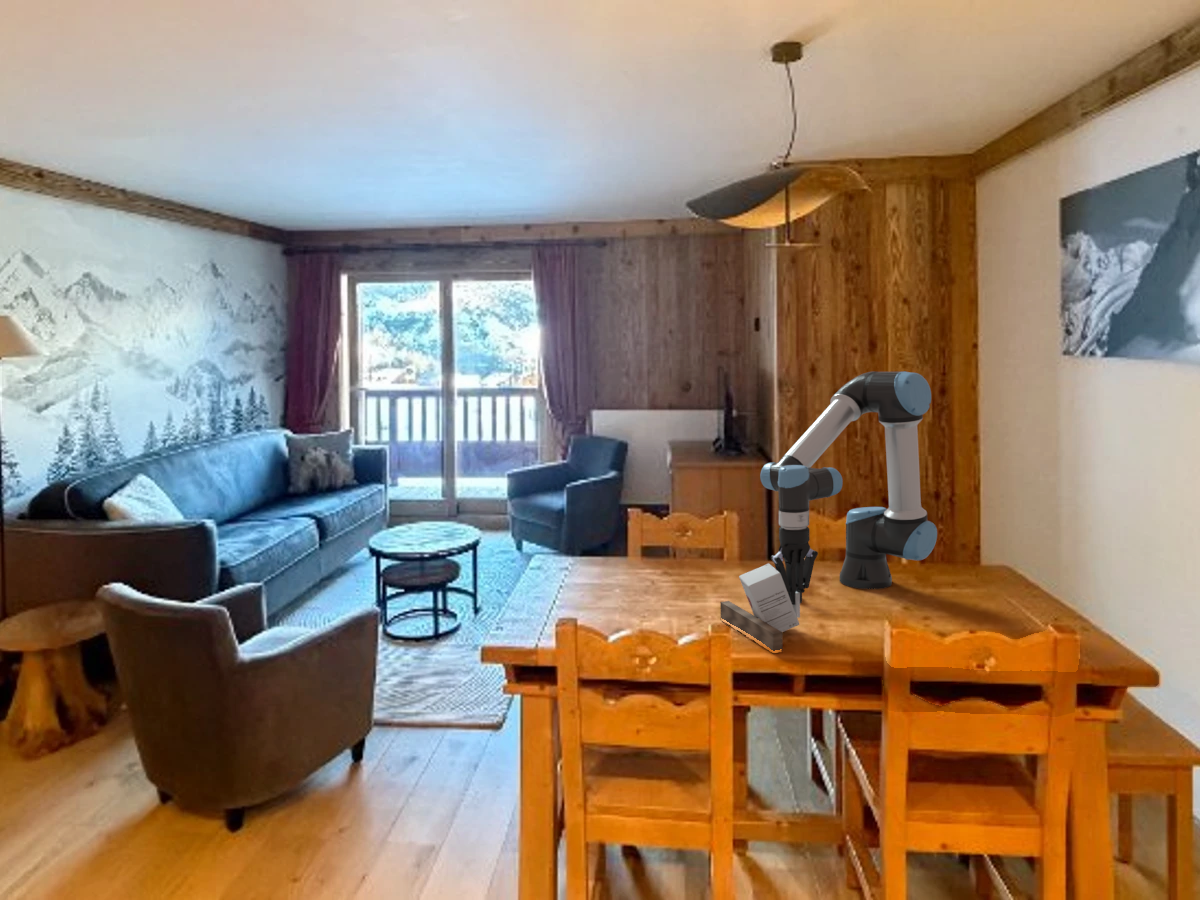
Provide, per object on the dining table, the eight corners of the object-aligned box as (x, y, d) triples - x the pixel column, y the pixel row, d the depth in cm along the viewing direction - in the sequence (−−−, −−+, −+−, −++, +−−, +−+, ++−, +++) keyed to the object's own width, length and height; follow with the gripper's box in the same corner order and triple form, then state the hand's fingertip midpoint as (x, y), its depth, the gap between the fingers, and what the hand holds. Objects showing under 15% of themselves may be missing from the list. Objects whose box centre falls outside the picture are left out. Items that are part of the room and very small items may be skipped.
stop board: (720, 620, 214) (720, 602, 213) (728, 618, 215) (728, 600, 214) (773, 654, 190) (773, 633, 189) (782, 652, 191) (782, 632, 190)
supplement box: (757, 626, 209) (737, 575, 206) (788, 613, 209) (769, 562, 207) (768, 639, 200) (747, 586, 198) (800, 625, 200) (780, 571, 198)
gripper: (781, 532, 197) (782, 624, 200) (823, 526, 201) (824, 616, 205) (764, 526, 204) (766, 615, 207) (806, 520, 208) (807, 608, 212)
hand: (795, 615), depth 206 cm, fingers closed
